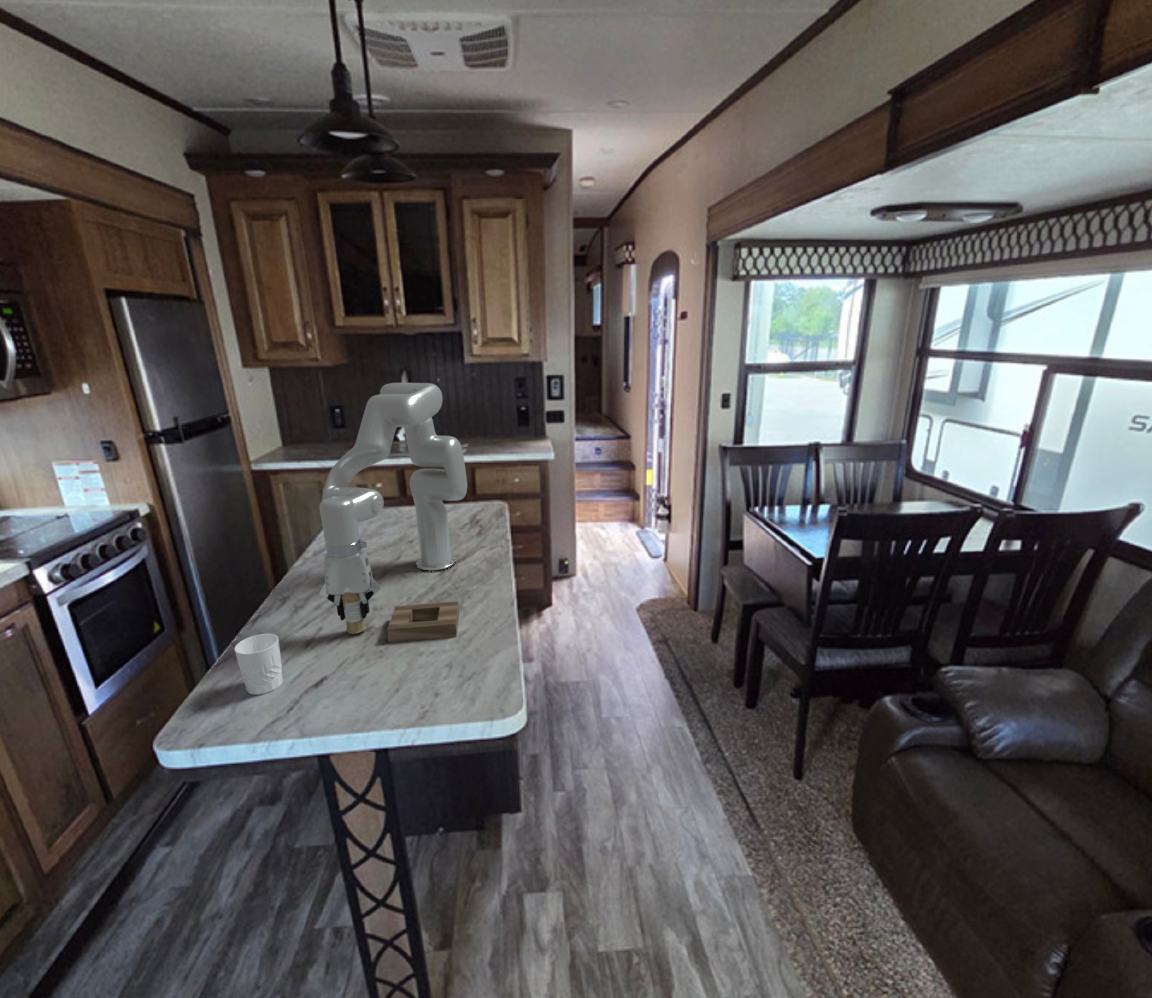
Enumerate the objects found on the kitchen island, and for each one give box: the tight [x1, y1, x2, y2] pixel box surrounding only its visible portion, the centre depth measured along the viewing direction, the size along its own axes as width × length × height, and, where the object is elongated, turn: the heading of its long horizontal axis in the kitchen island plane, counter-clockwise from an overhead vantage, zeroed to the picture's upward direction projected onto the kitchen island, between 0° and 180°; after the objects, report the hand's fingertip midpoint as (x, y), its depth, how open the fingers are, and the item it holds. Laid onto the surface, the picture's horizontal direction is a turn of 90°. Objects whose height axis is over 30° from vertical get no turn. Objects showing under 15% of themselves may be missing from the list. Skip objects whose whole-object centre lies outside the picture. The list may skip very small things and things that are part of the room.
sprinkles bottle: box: [342, 587, 367, 634], centre depth 133 cm, size 5×5×13 cm
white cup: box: [233, 633, 284, 696], centre depth 113 cm, size 8×8×10 cm
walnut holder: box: [386, 600, 460, 643], centre depth 136 cm, size 12×16×4 cm
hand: (354, 616), depth 134 cm, fingers closed on sprinkles bottle, 4 cm apart
